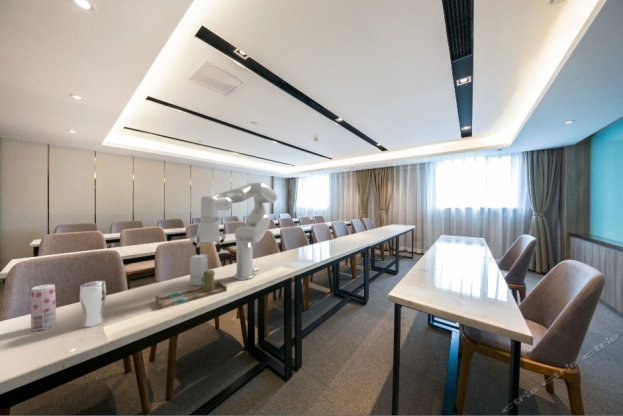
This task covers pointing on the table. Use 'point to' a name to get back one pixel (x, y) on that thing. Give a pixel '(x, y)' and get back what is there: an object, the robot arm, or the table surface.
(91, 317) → the beer glass
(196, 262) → the skincare box
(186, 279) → the table surface
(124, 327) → the table surface
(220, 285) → the brown wooden tray
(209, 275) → the cork
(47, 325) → the beverage can
